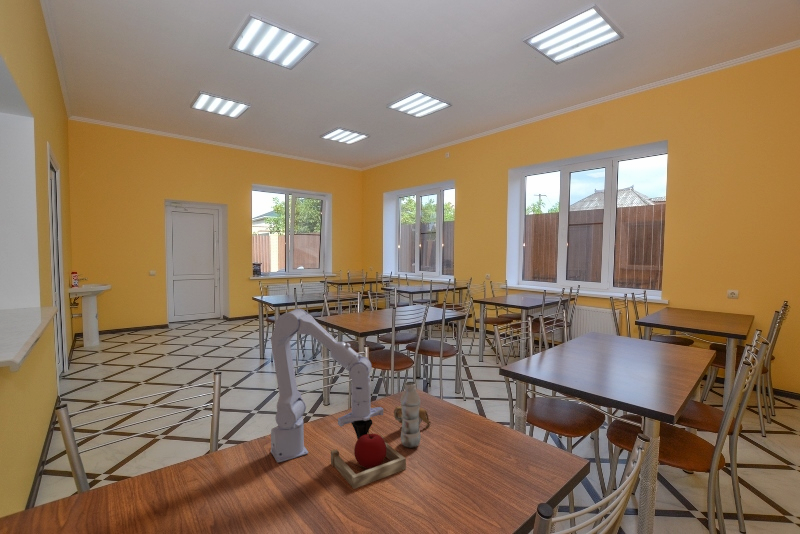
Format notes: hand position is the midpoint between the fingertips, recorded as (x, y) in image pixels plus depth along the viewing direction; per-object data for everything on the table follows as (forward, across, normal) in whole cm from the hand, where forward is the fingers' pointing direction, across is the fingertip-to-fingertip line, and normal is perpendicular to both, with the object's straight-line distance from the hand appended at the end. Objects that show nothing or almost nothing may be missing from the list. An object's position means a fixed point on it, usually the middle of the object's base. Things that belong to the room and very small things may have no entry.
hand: (361, 443), depth 114 cm
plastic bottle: (+4, +16, -3) cm, 17 cm away
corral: (+4, -1, -6) cm, 7 cm away
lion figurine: (+4, +23, +6) cm, 24 cm away
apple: (+4, 0, -6) cm, 7 cm away
